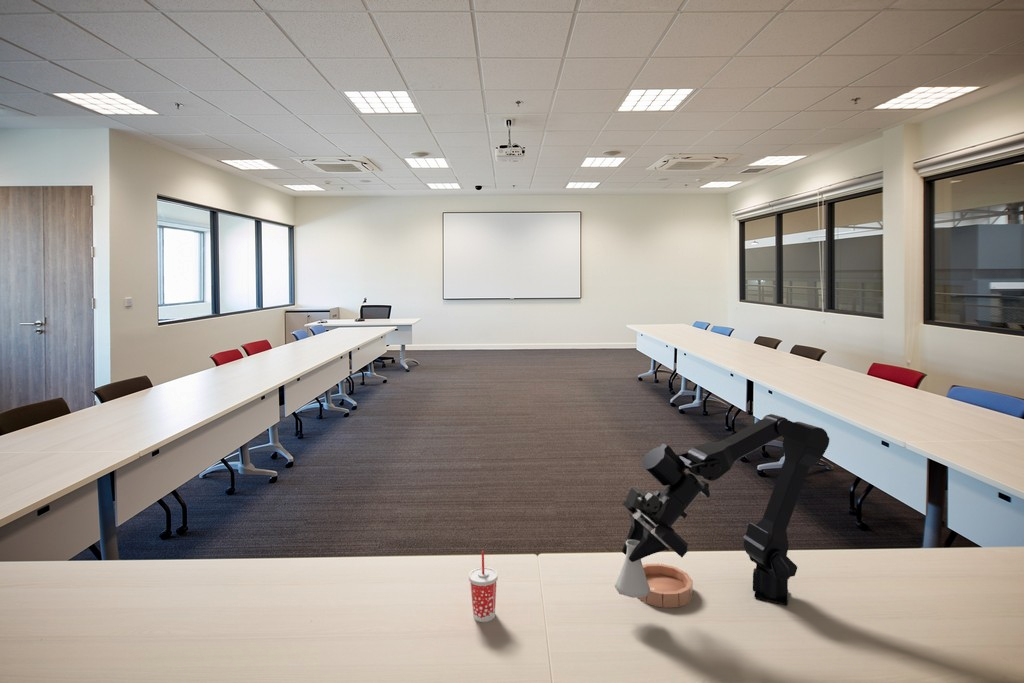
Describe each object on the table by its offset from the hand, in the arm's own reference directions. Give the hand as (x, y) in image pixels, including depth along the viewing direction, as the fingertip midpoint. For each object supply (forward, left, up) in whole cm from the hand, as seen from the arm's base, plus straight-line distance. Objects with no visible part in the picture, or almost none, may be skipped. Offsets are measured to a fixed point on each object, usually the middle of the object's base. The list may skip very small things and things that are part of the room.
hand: (626, 556), depth 109 cm
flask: (-1, -1, -7) cm, 7 cm away
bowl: (-4, -14, -13) cm, 19 cm away
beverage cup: (+27, +12, -13) cm, 33 cm away
